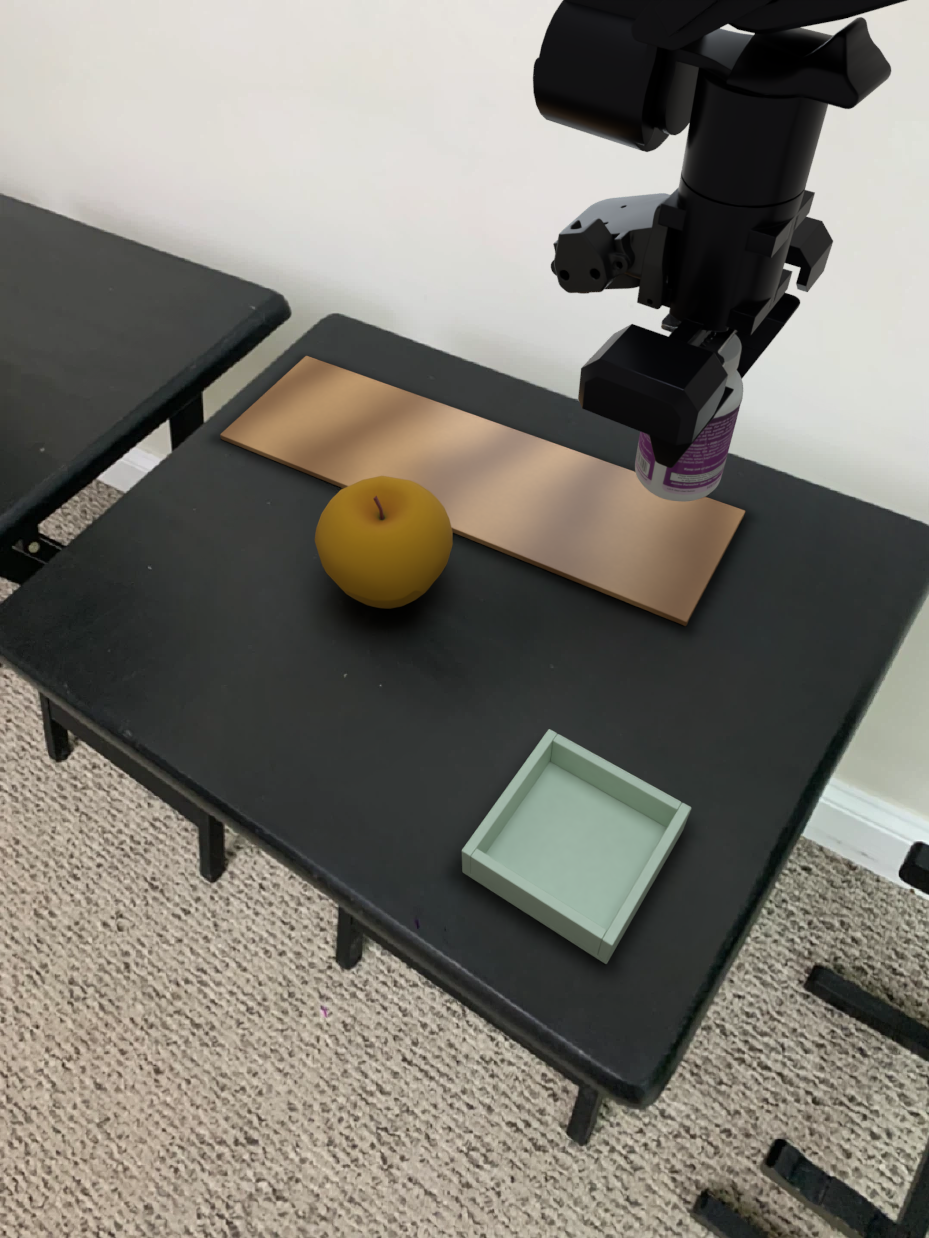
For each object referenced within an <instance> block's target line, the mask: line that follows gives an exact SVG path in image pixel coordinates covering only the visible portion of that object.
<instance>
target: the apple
mask: <svg viewBox="0 0 929 1238" xmlns="http://www.w3.org/2000/svg"><path fill="white" fill-rule="evenodd" d="M453 534H454V533H453V532H452V527H451V523H450V520H449V517H448V515H447V512H446V510H445V508H444V506H443V505H442V504H441V503H440V501H439V500H438V499H437V498H436V497H435V496H434V495H433V494H432V493H431V492H430V491H428V490H427V489H425V488H424V487H422V486H421V485H419V484H418V483H415V482H413V481H411V480H405V479H399V478H393V477H387V476H378V477H373V478H369V479H364V480H361V481H359V482H357V483H354V484H352V485H350V486H348V487H346V488H341V489H340V490H339V491H338V492H337V493H336V494H335V495H334V496H332V498H331V499H330V500H329V501H328V503H327V505H326V506H325V508H324V509H323V510H322V512H321V513H320V517H319V519H318V522H317V524H316V528H315V535H314V543H315V547H316V549H317V550H316V551H317V553H318V556H319V559H320V563H321V566H322V568H323V570H324V571H325V573H326V574H327V575H328V576H329V578H330V579H331V580H332V581H333V582H334V583H335V584H336V585H337V586H338V587H339V588H340V589H341V591H343V592H344V594H346V595H347V596H349V597H351V598H352V599H353V600H355V601H358V602H359V603H362V604H363V605H366V606H367V607H368V606H369V607H373V608H376V609H377V608H378V609H389V610H390V609H396V608H400V607H404V606H406V605H408V604H410V603H412V602H414V601H416V600H418V599H419V598H420V597H422V596H423V595H424V594H425V593H427V592H428V591H429V589H430V588H431V586H432V585H433V584H434V583H435V582H436V580H437V579H438V578H439V577H440V575H441V574H442V573H443V571H444V570H445V568H446V566H447V565H448V562H449V559H450V554H451V551H452V548H453V545H454V540H453Z"/></svg>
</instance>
